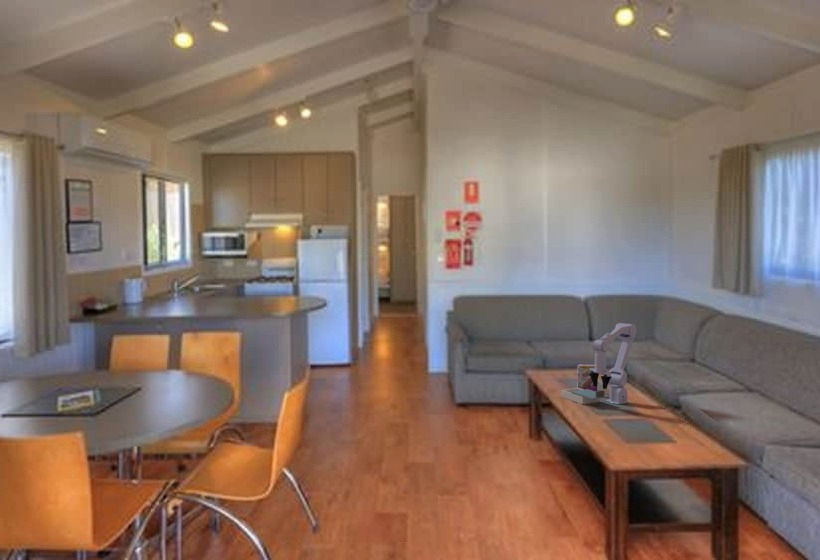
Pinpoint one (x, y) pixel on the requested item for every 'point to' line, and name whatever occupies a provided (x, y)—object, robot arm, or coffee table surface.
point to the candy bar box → (585, 377)
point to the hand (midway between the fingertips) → (600, 387)
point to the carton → (578, 397)
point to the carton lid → (590, 394)
